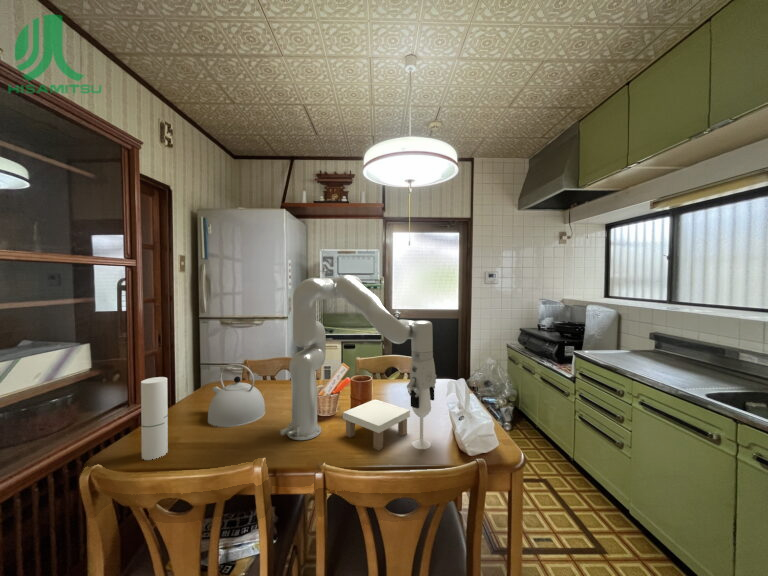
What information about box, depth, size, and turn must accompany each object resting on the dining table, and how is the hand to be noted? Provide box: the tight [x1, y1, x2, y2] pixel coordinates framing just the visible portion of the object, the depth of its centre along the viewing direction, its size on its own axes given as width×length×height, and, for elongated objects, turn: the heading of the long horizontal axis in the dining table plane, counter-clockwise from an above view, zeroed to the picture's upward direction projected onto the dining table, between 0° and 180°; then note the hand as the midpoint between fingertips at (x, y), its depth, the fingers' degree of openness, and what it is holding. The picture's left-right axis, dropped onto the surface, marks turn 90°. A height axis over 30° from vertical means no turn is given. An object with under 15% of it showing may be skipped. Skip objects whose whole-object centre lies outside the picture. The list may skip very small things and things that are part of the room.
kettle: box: [207, 363, 266, 428], centre depth 140 cm, size 25×23×23 cm
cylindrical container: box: [140, 376, 169, 461], centre depth 108 cm, size 7×7×25 cm
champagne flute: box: [411, 386, 432, 450], centre depth 115 cm, size 7×7×24 cm
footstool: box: [342, 399, 411, 451], centre depth 122 cm, size 18×18×9 cm
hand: (422, 403), depth 115 cm, fingers open, 9 cm apart
